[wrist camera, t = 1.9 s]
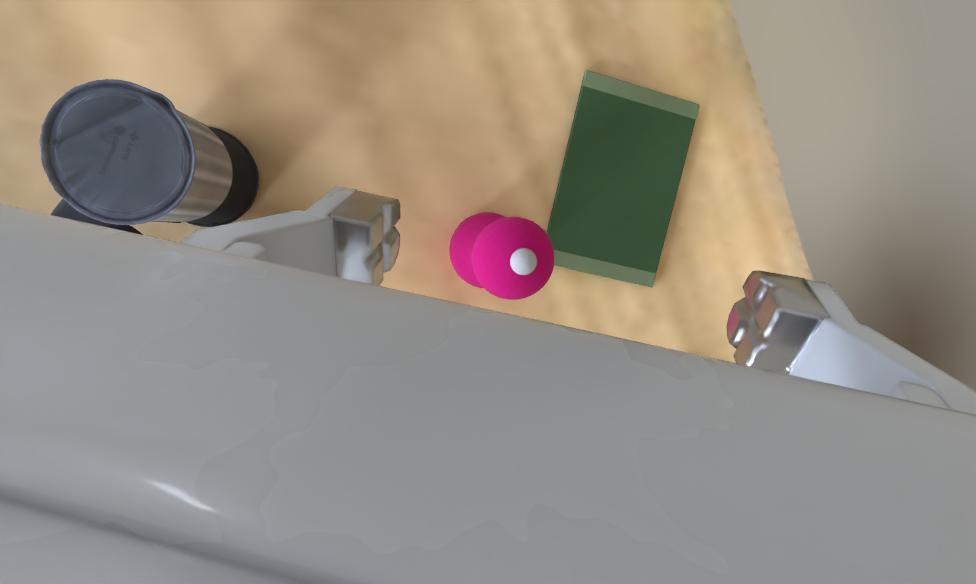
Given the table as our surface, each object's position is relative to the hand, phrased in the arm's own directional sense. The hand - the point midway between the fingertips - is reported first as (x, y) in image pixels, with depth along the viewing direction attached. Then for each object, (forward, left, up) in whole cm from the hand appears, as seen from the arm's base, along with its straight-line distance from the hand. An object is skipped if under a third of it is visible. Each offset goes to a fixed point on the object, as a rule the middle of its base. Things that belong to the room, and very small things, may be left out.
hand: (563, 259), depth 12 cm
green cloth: (-9, +17, -40) cm, 44 cm away
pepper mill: (+1, +4, -40) cm, 40 cm away
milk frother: (+3, -20, -40) cm, 45 cm away
